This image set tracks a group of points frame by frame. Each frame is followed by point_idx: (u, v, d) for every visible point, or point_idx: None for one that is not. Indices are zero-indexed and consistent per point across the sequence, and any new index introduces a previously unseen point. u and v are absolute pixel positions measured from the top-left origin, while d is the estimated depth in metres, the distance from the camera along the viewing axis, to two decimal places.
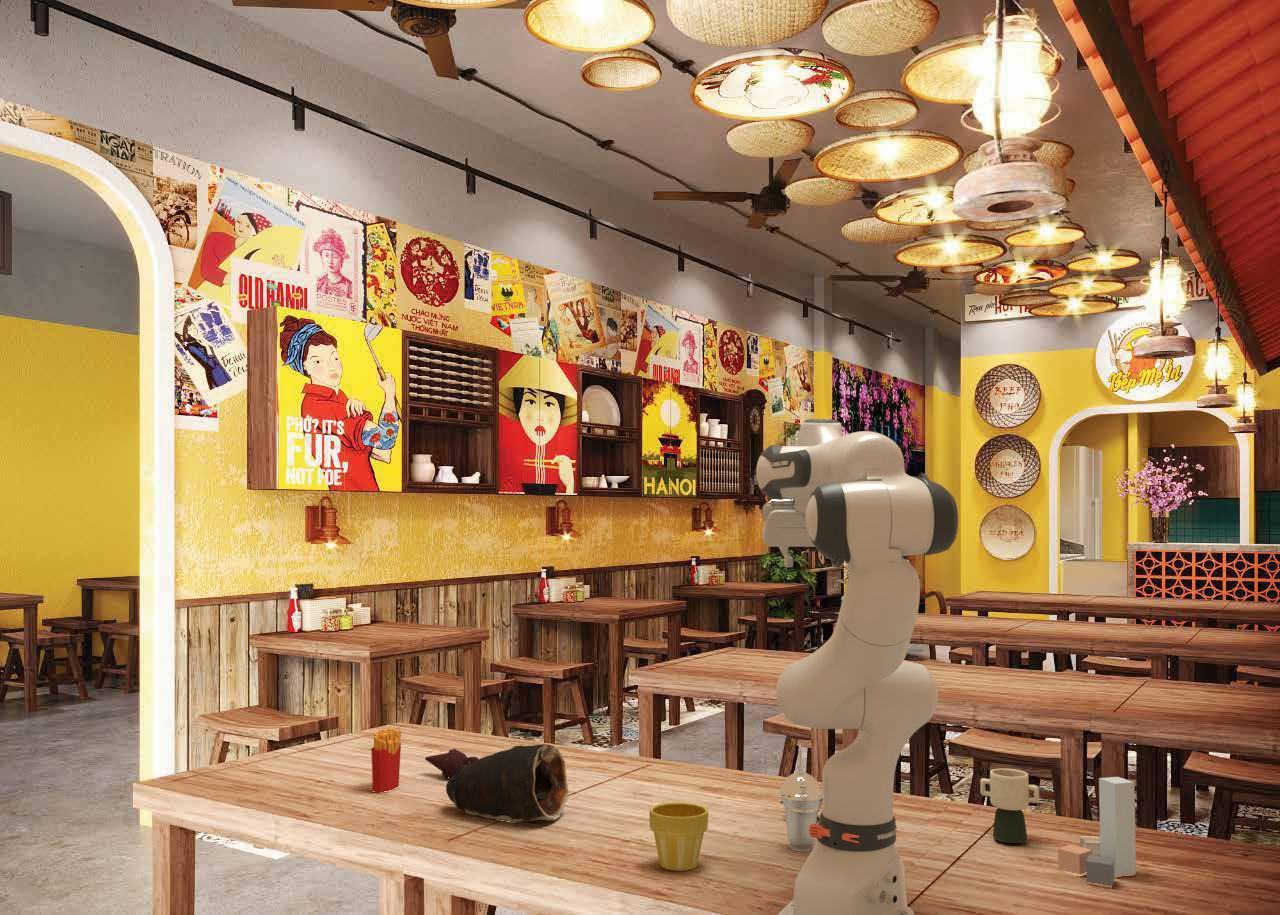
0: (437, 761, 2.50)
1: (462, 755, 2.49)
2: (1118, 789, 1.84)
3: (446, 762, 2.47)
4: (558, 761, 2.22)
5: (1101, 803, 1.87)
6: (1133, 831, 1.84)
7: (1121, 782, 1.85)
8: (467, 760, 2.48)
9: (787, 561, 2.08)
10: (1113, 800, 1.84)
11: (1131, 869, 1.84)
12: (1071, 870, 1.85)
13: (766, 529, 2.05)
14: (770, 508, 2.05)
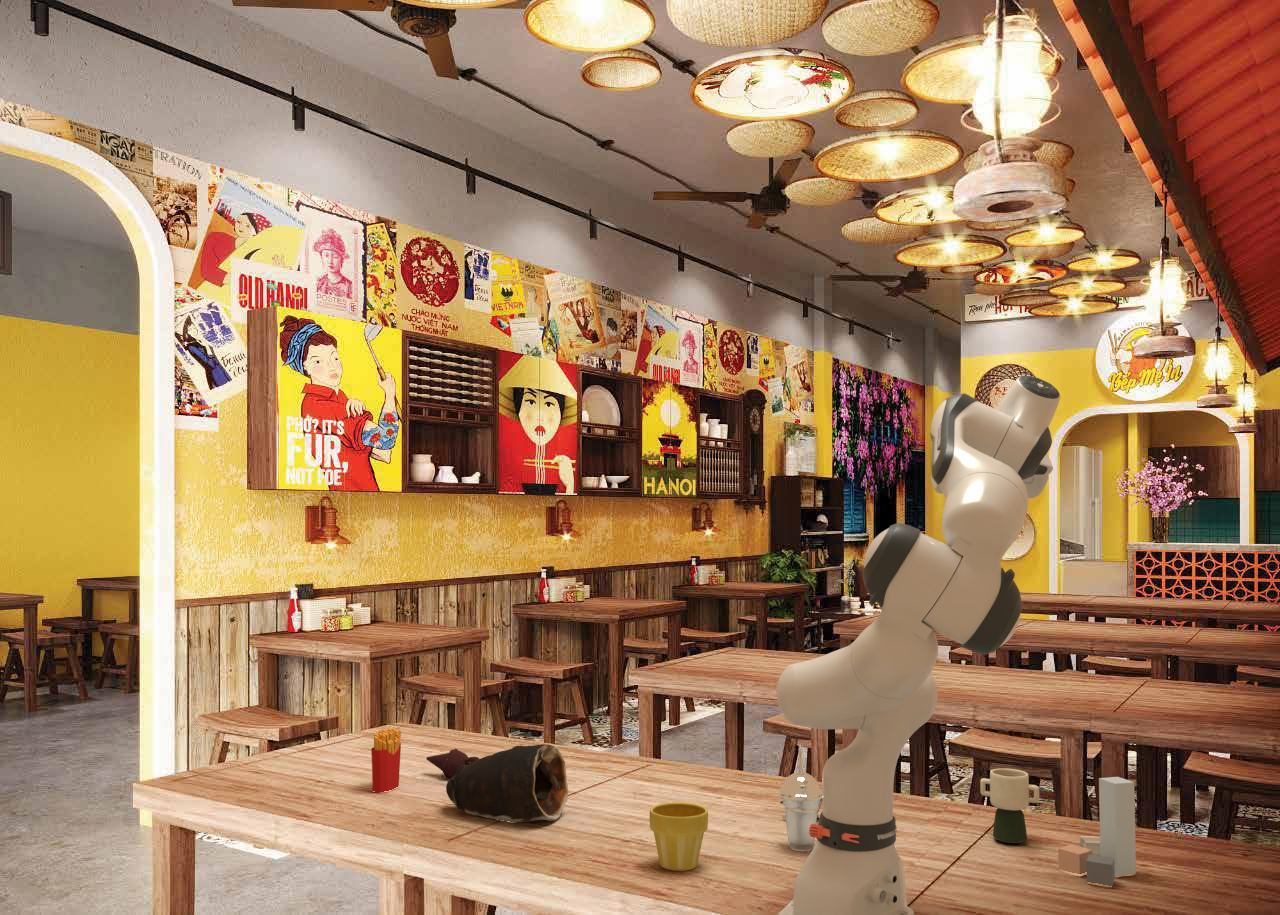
0: (438, 761, 2.50)
1: (463, 755, 2.49)
2: (1118, 789, 1.84)
3: (447, 762, 2.47)
4: (558, 762, 2.22)
5: (1101, 803, 1.87)
6: (1133, 831, 1.84)
7: (1121, 782, 1.85)
8: (468, 760, 2.48)
9: None
10: (1113, 800, 1.84)
11: (1131, 869, 1.84)
12: (1071, 870, 1.85)
13: None
14: None
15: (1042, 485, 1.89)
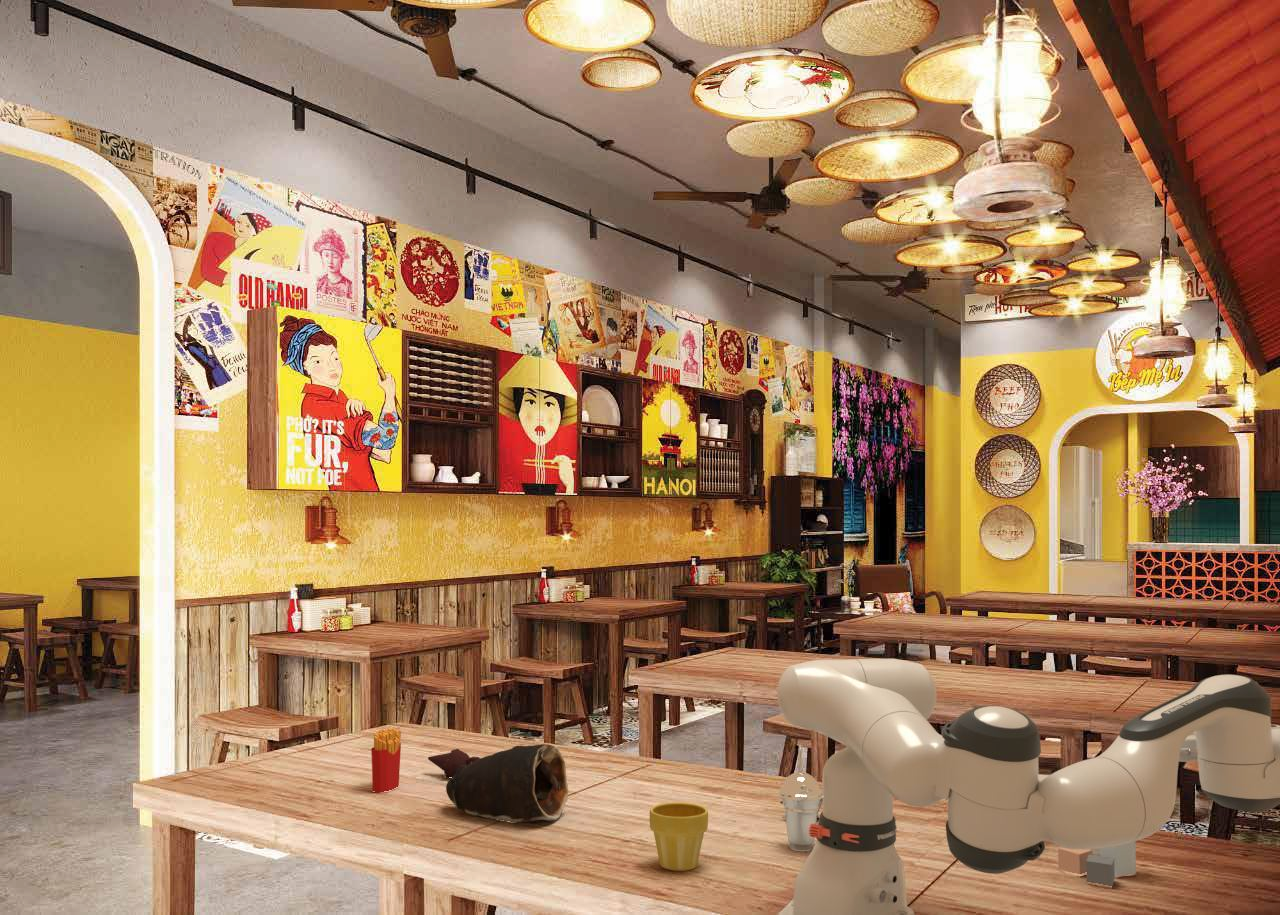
0: (439, 761, 2.50)
1: (464, 755, 2.49)
2: None
3: (448, 762, 2.48)
4: (558, 761, 2.22)
5: None
6: None
7: None
8: (469, 760, 2.47)
9: None
10: None
11: (1131, 869, 1.84)
12: (1071, 870, 1.85)
13: None
14: None
15: None
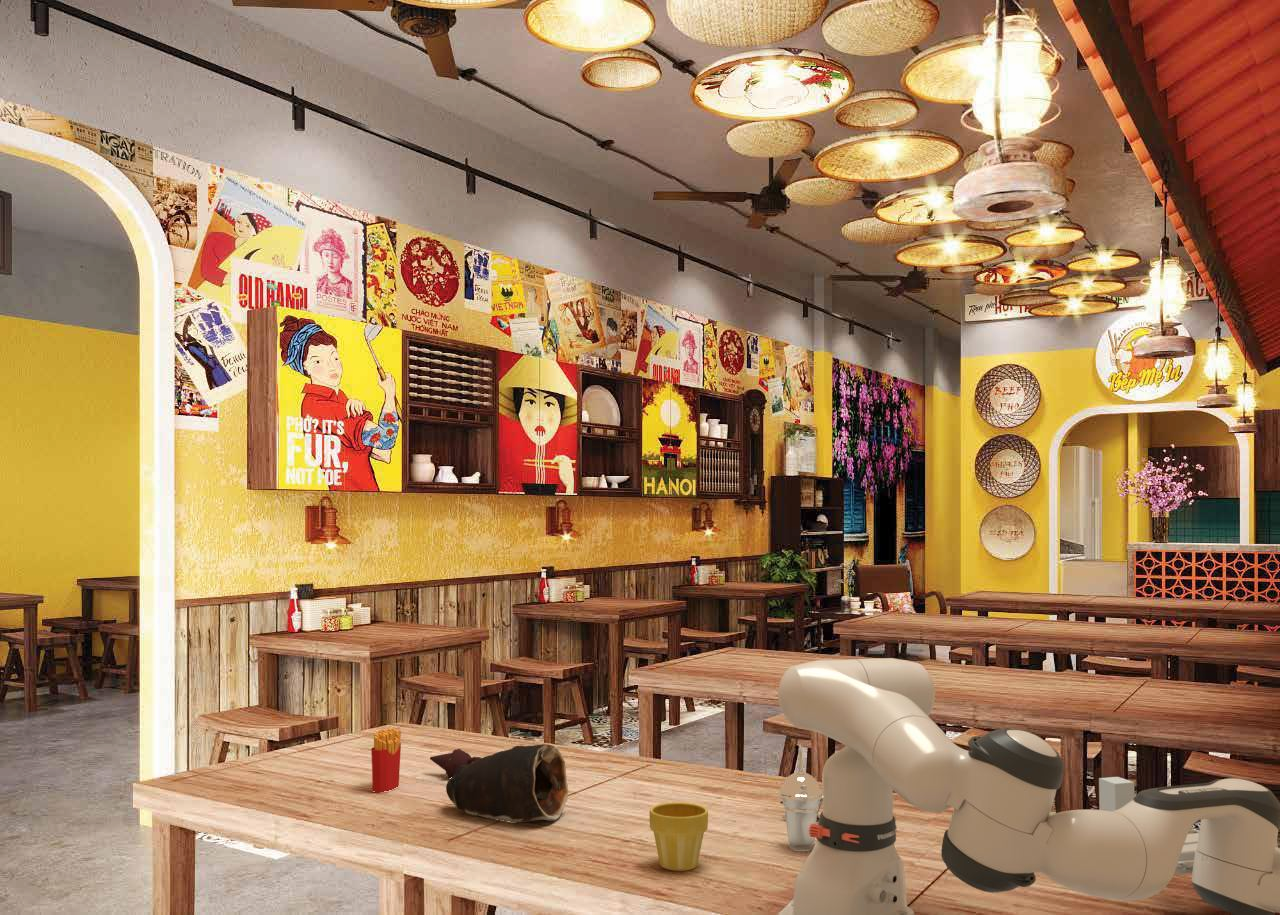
0: (441, 761, 2.50)
1: (466, 755, 2.49)
2: (1118, 789, 1.84)
3: (450, 762, 2.48)
4: (558, 762, 2.22)
5: (1101, 803, 1.87)
6: None
7: (1121, 782, 1.85)
8: (470, 760, 2.47)
9: None
10: (1113, 801, 1.84)
11: None
12: None
13: None
14: None
15: None
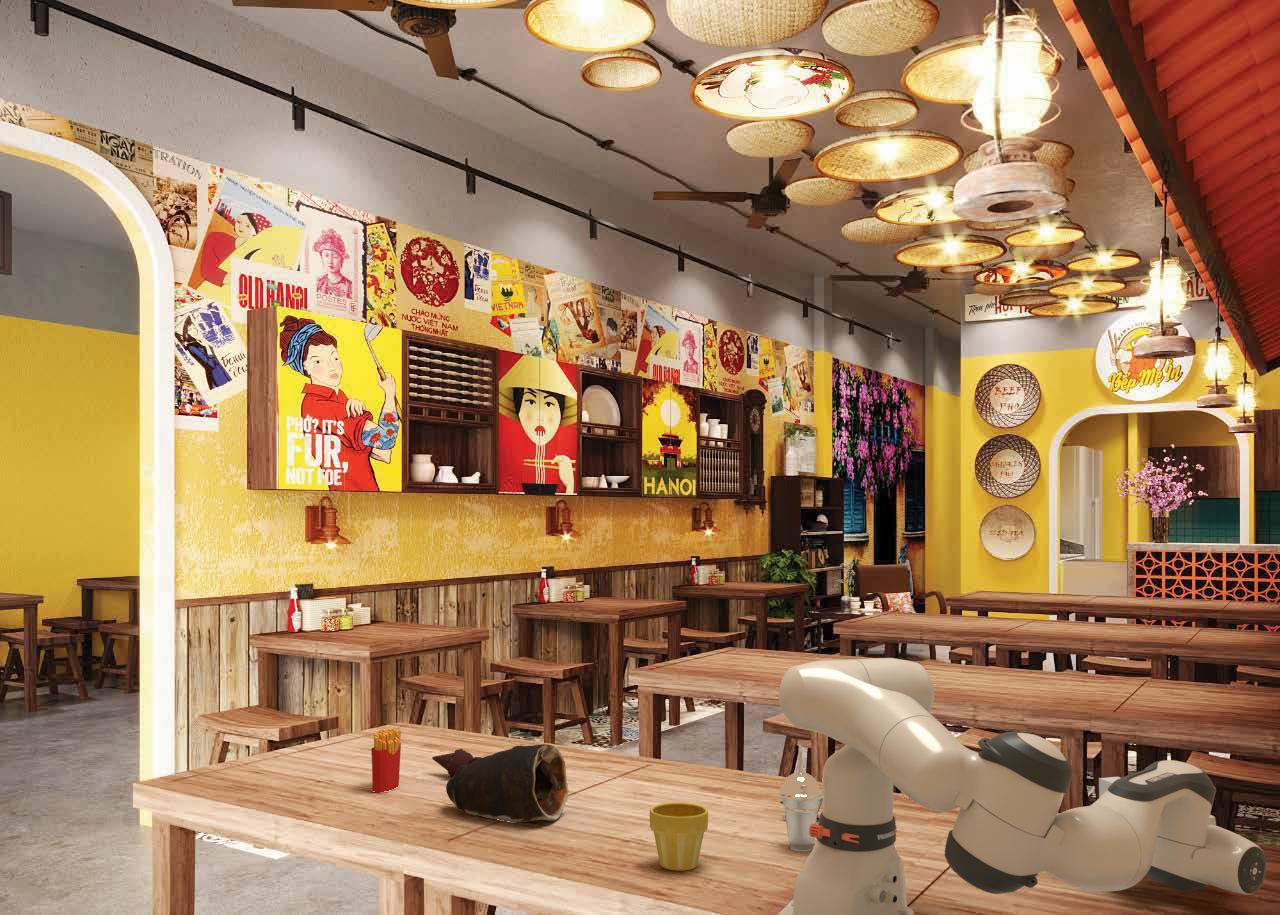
0: (443, 761, 2.50)
1: (468, 755, 2.49)
2: None
3: (452, 762, 2.48)
4: (558, 761, 2.22)
5: None
6: None
7: None
8: (472, 760, 2.47)
9: None
10: None
11: None
12: None
13: None
14: None
15: None
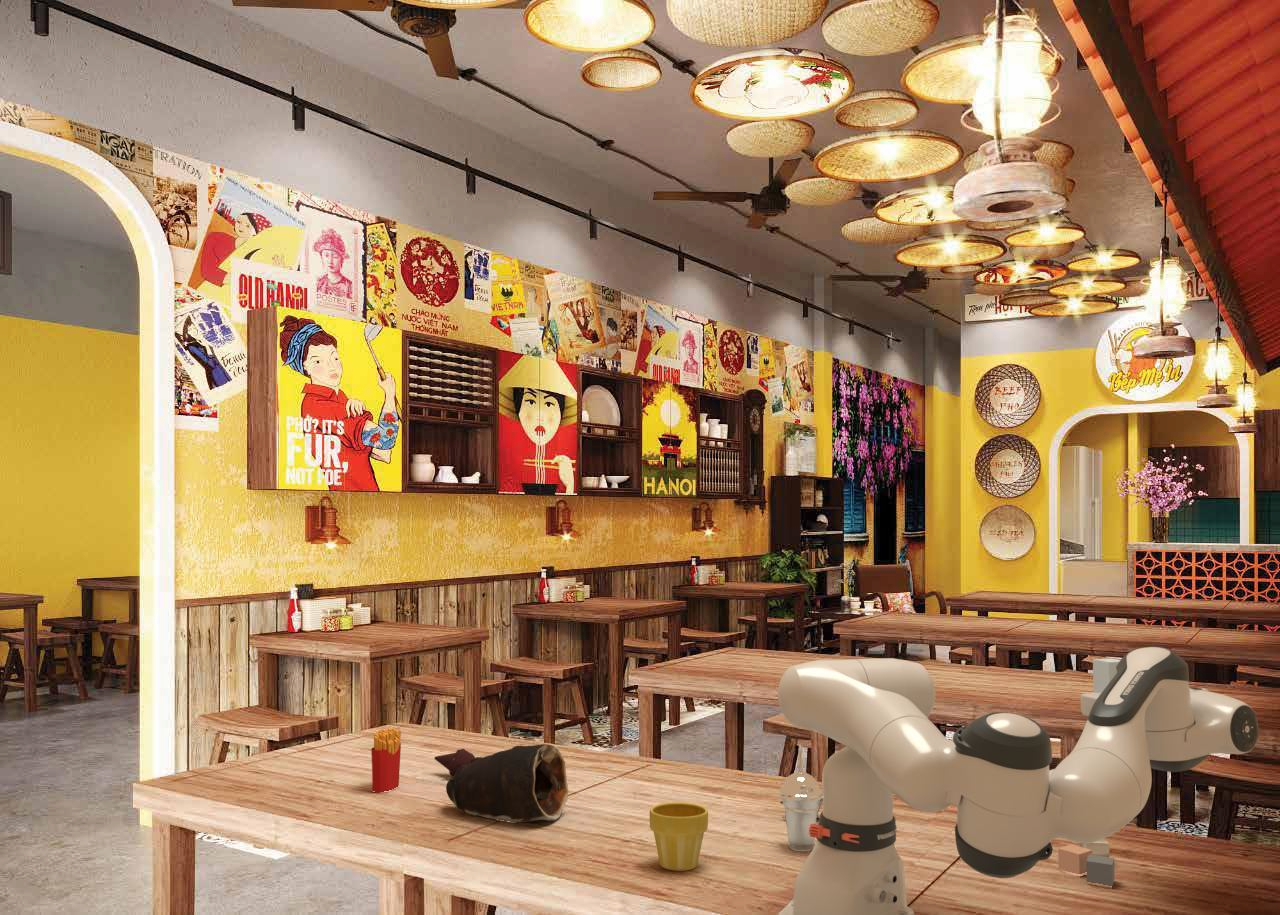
0: (445, 761, 2.50)
1: (469, 755, 2.49)
2: (1112, 668, 1.85)
3: (453, 762, 2.48)
4: (558, 762, 2.22)
5: (1095, 683, 1.88)
6: None
7: (1115, 661, 1.86)
8: (474, 760, 2.47)
9: None
10: (1107, 679, 1.85)
11: None
12: (1071, 870, 1.85)
13: None
14: None
15: None
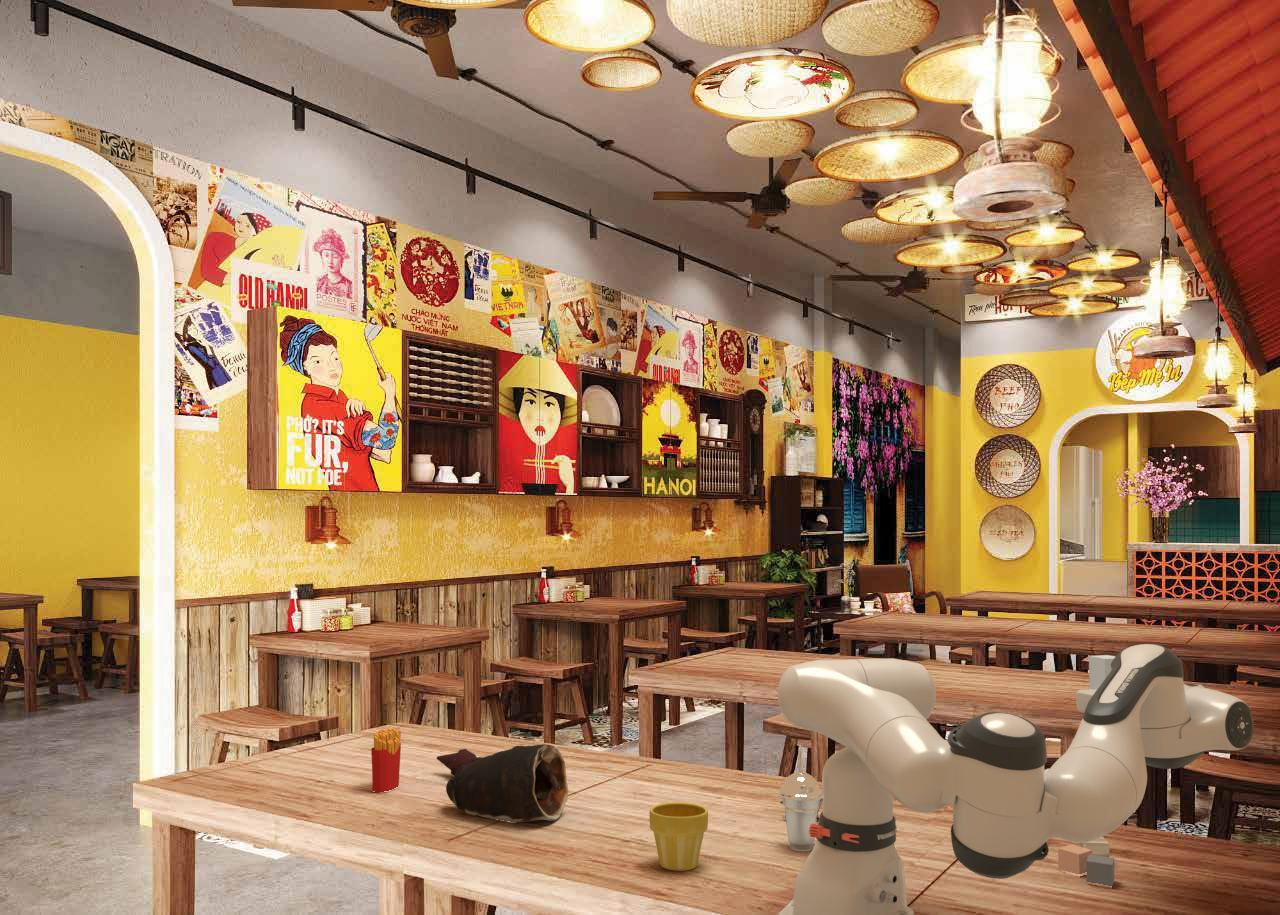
0: (447, 761, 2.50)
1: (471, 755, 2.49)
2: (1107, 665, 1.85)
3: (455, 762, 2.48)
4: (558, 762, 2.22)
5: (1091, 680, 1.88)
6: None
7: (1111, 658, 1.86)
8: (475, 760, 2.47)
9: None
10: (1103, 676, 1.85)
11: None
12: (1071, 870, 1.85)
13: None
14: None
15: None
